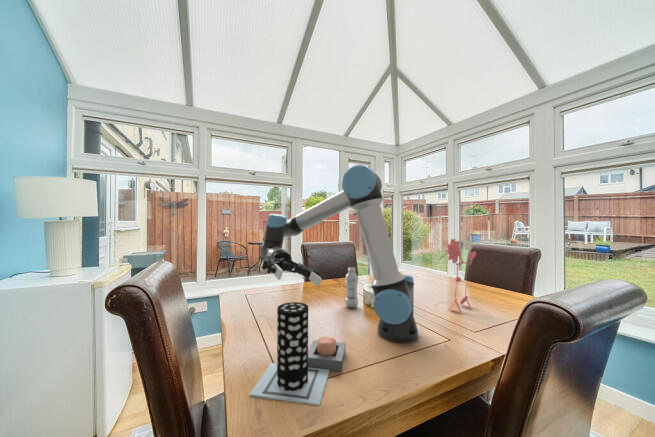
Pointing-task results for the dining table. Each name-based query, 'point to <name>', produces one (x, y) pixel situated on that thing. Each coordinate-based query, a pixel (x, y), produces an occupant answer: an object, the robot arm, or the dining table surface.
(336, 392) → the dining table surface
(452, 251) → the figurine
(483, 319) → the dining table surface
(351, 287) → the plastic bottle
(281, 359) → the white-spotted black cylinder
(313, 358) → the button housing
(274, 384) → the drawing pad
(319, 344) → the button
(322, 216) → the robot arm
